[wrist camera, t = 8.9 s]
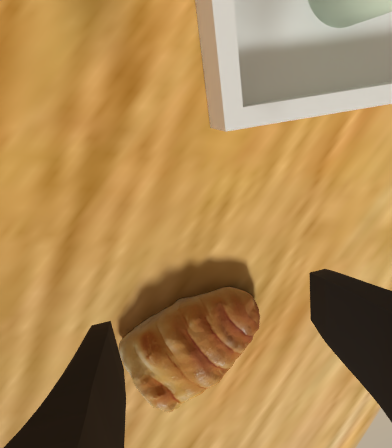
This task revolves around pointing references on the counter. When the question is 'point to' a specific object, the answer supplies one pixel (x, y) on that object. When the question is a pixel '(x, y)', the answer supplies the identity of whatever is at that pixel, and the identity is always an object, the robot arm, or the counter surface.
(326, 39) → the bin
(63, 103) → the counter surface
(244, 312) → the pastry
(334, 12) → the tin
